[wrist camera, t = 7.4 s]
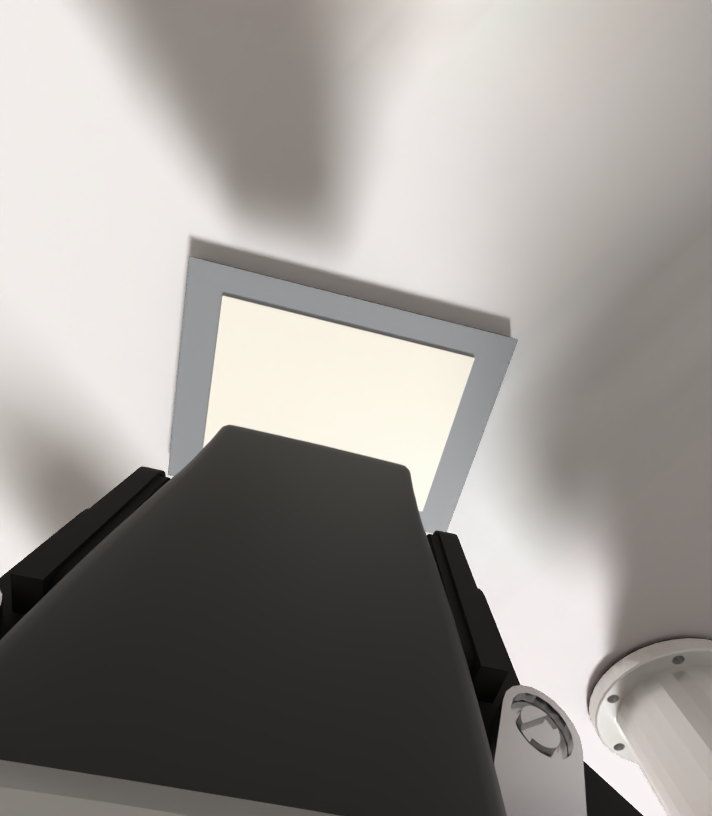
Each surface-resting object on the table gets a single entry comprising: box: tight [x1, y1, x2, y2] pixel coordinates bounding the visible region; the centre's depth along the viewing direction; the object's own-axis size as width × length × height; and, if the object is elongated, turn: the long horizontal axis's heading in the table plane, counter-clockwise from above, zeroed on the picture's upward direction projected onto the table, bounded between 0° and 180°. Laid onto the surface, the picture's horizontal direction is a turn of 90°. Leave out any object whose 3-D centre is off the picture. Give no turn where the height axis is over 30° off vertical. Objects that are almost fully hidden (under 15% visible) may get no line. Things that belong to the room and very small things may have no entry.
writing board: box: [168, 257, 518, 533], centre depth 22 cm, size 18×13×1 cm
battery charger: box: [0, 425, 507, 816], centre depth 8 cm, size 7×4×11 cm, turn 76°
